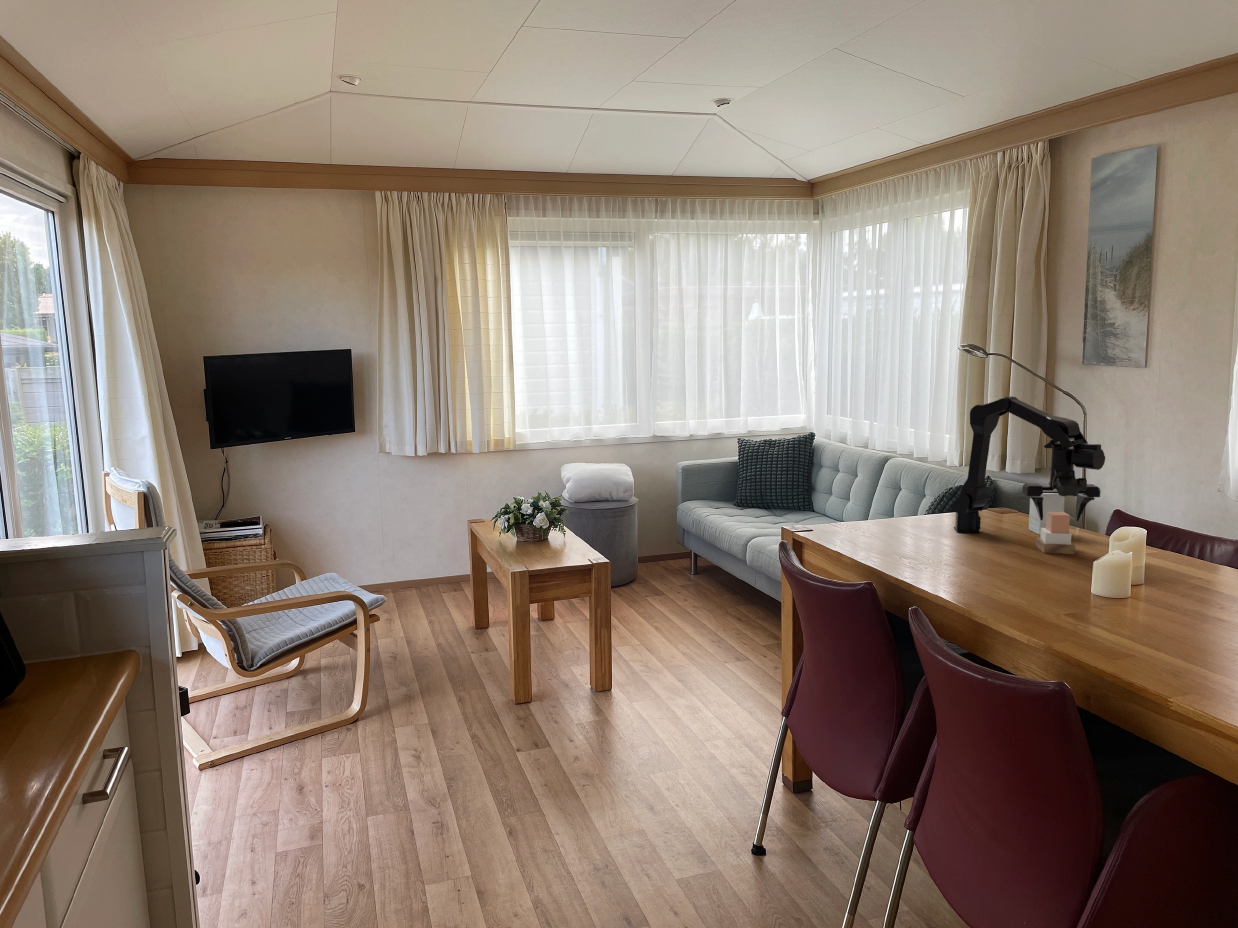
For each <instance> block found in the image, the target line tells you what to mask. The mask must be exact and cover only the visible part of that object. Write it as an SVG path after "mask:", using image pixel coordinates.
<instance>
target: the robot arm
mask: <svg viewBox="0 0 1238 928" xmlns="http://www.w3.org/2000/svg"><path fill="white" fill-rule="evenodd" d="M1007 414H1011V415H1013V416H1015V417H1018V418H1019V419H1021V420H1023V421H1025V422H1028V423H1029V424H1032V425H1033V426H1036V427H1038V429H1040V430H1041V431H1042V432H1043V434H1044V435H1045V436H1046V437H1048V438H1049V439H1050V440H1049V441H1048V442H1047V443H1046V444H1045V445H1044V446H1043V447H1044V449H1051V454H1050V467H1049V473H1050V475H1049V481H1048V486H1043V485H1041V484H1039V483H1035V482H1034V483H1032V482H1031V483H1028V482H1026V483H1024V484H1023V485H1022V491H1021V492H1022V494H1024V495H1025V496H1027V497H1028V498H1029V499H1030V498H1031V499H1032V500H1033V502H1034V504H1035V506H1036V509H1037V512H1038V515H1039V518H1040V520H1043V499H1044V498H1043V497H1042V496H1041V495H1042V494H1043V493H1058V494H1059V495H1060V496H1065V497H1067V496H1068V497H1069V496H1071V497H1076V502H1075V503H1076V504H1075V513H1074V514H1075V515H1074V517H1075V518H1074V520H1075V521H1076V522H1079V520H1080V518H1081V516H1082V514H1083V511H1084V510H1085V508H1086V507H1087V505H1088V504H1089V503H1090V502H1091V501H1094V500H1095V499H1096V498H1101V488H1100V487H1099V486H1097V485H1094V484H1093V483H1088V480H1087V478H1086V477H1077V478H1076V473H1075V470H1074V469H1075V467H1076V468H1079V469H1081V468H1082V469H1087V470H1097V471H1100V470H1101V469H1102V468H1103V467H1104V465H1105V462H1106V456H1105V452H1104V450H1103V449H1102V444H1101V443H1100V444H1099V443H1095V444H1092V443H1089V442H1088V441H1087V439H1086V438H1085V435H1084V434H1083V433H1082V431H1081V429H1080V426H1079V423H1078V421H1075V420H1073V419H1069V418H1066V417H1063V416H1062V417H1061V416H1058V415H1052V414H1050V413H1047V412H1045V411H1043V410H1042V409H1038V408H1037V407H1035V406H1033V405H1030V404H1028V403H1027V402H1024V401H1023V400H1020V399H1019V398H1018V397H1016V396H1003V397H1001V398H1000V399H997V400H995V401H991V402H988V403H985V404H984V403H983V404H976V405H974V406H973V407H971V408H970V411H969V424H970V427H971V430H972V432H973V433H972V435H973V436H972V440H971V441H972V442H971V450H970V457H969V458H970V459H969V465H968V470H967V472H968V473H967V474H968V475H967V478H966V480H965V482H964V483H963V485H962V486H961V488H960V491H959V495H958V498H957V499H956V500H954V501H953V502H952V503H951V505H950V508H951V512H952V513H955V519H954V520H955V522H954V526H953V529H954V530H955V532H957V533H967V534H970V533H971V534H973V533H975V534H980V530H981V520H982V519H981V516H980V512H983V511H984V507H985V505H987V504H988V502H989V500H991V491H992V486H988V485H987V482H986V473H987V465H988V458H989V452H990V446H991V444H990V443H991V437H992V434H993V432H994V430H995V429H996V428H997V426H998V424H999V420H1000V418H1001V417H1002V416H1005V415H1007Z"/></svg>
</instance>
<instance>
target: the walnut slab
mask: <svg viewBox="0 0 1238 928" xmlns="http://www.w3.org/2000/svg"><path fill="white" fill-rule="evenodd" d="M1035 539H1036V541H1035V542H1036V543H1035V547H1036V546H1037V547H1036V548H1037V549H1038V550H1039V551H1041V552H1042V553H1043V552H1044V553H1043V554H1060V553H1062V554H1063V555H1064V554H1065V555H1066V554H1067V555H1069V554H1071V555H1075V554H1076V544H1074V543H1073V542H1072V541H1071V545H1066V544H1045V543H1044V542H1043V541H1042V540H1041V538H1040V537H1036V538H1035Z"/></svg>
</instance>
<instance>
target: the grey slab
mask: <svg viewBox="0 0 1238 928" xmlns="http://www.w3.org/2000/svg"><path fill="white" fill-rule="evenodd" d="M1072 535H1073V534H1072V533H1071V532H1070V531H1069V533H1051V532H1049V531H1048V530H1047V529H1046V528H1041V534H1040V535H1039V536H1040V537H1039V538H1041V540H1042V541H1043V542H1044V543H1045V544H1066V545H1071V542H1072Z"/></svg>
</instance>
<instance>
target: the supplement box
mask: <svg viewBox="0 0 1238 928" xmlns="http://www.w3.org/2000/svg"><path fill="white" fill-rule="evenodd" d="M1041 496H1042V497H1043V498H1044V499H1043V520H1040V518H1039V515H1038V512H1037V509H1036V506H1035V504H1034V502H1033V500H1032V499H1031V498H1030V497H1029V516H1028V531H1031V532H1033V533H1034V534H1037V535H1039V536H1040V534H1041V528H1046V518H1047V512H1065V501H1066V500H1065V498H1066V496H1060V495H1059V494H1058V493H1043V494H1042V495H1041Z"/></svg>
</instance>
